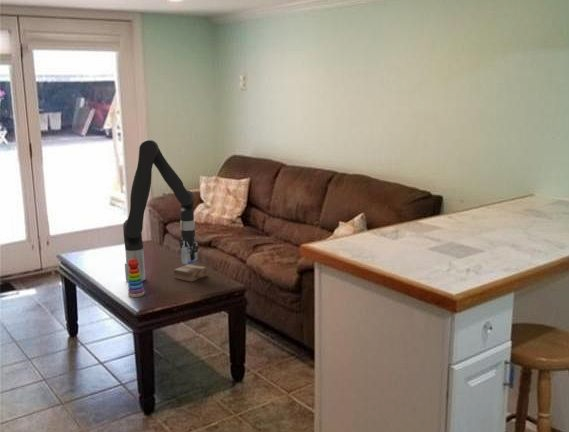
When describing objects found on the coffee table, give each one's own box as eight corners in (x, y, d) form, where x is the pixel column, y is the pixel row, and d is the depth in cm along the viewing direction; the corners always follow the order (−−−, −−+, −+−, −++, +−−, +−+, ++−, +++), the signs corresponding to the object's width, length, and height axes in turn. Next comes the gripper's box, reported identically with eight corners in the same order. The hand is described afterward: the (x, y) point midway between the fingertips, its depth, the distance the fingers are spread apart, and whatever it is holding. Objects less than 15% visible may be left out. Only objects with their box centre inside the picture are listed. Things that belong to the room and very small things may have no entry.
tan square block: (191, 282, 318) (190, 273, 317) (174, 278, 324) (173, 269, 323) (206, 276, 327) (205, 267, 326) (189, 272, 334) (189, 263, 333)
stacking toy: (142, 291, 304) (139, 255, 300) (146, 296, 297) (144, 259, 293) (126, 294, 300) (123, 257, 296) (130, 298, 293) (127, 261, 289)
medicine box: (187, 264, 320) (186, 249, 318) (181, 263, 322) (180, 247, 321) (198, 261, 326) (197, 245, 324) (192, 259, 329) (191, 244, 327)
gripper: (173, 227, 322) (175, 258, 326) (190, 231, 313) (192, 263, 316) (184, 225, 327) (186, 255, 331) (202, 228, 318) (203, 260, 322)
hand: (189, 259), depth 324 cm, fingers closed on medicine box, 4 cm apart
